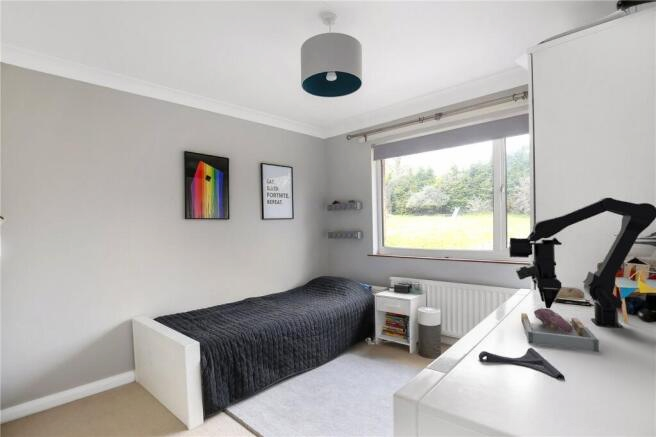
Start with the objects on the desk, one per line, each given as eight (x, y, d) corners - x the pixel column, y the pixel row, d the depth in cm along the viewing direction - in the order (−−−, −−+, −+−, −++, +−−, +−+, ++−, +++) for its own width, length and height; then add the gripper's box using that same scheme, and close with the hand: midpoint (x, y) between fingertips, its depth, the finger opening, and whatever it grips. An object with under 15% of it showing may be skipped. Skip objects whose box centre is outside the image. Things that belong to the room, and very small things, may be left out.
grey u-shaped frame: (524, 330, 98) (524, 320, 98) (587, 337, 91) (586, 327, 91) (528, 343, 88) (528, 331, 88) (598, 351, 81) (598, 339, 82)
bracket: (472, 351, 85) (471, 340, 85) (534, 354, 82) (534, 343, 82) (488, 377, 71) (488, 365, 71) (564, 382, 68) (564, 369, 68)
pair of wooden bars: (521, 320, 107) (521, 313, 107) (577, 326, 101) (577, 318, 101) (524, 330, 98) (524, 321, 98) (586, 337, 92) (586, 328, 92)
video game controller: (538, 327, 105) (528, 308, 104) (550, 320, 105) (540, 301, 105) (563, 338, 95) (552, 317, 95) (575, 331, 95) (565, 310, 95)
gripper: (514, 254, 121) (515, 296, 121) (519, 260, 105) (520, 309, 104) (550, 255, 116) (551, 299, 116) (561, 261, 100) (562, 313, 99)
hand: (545, 304), depth 109 cm, fingers open, 9 cm apart
